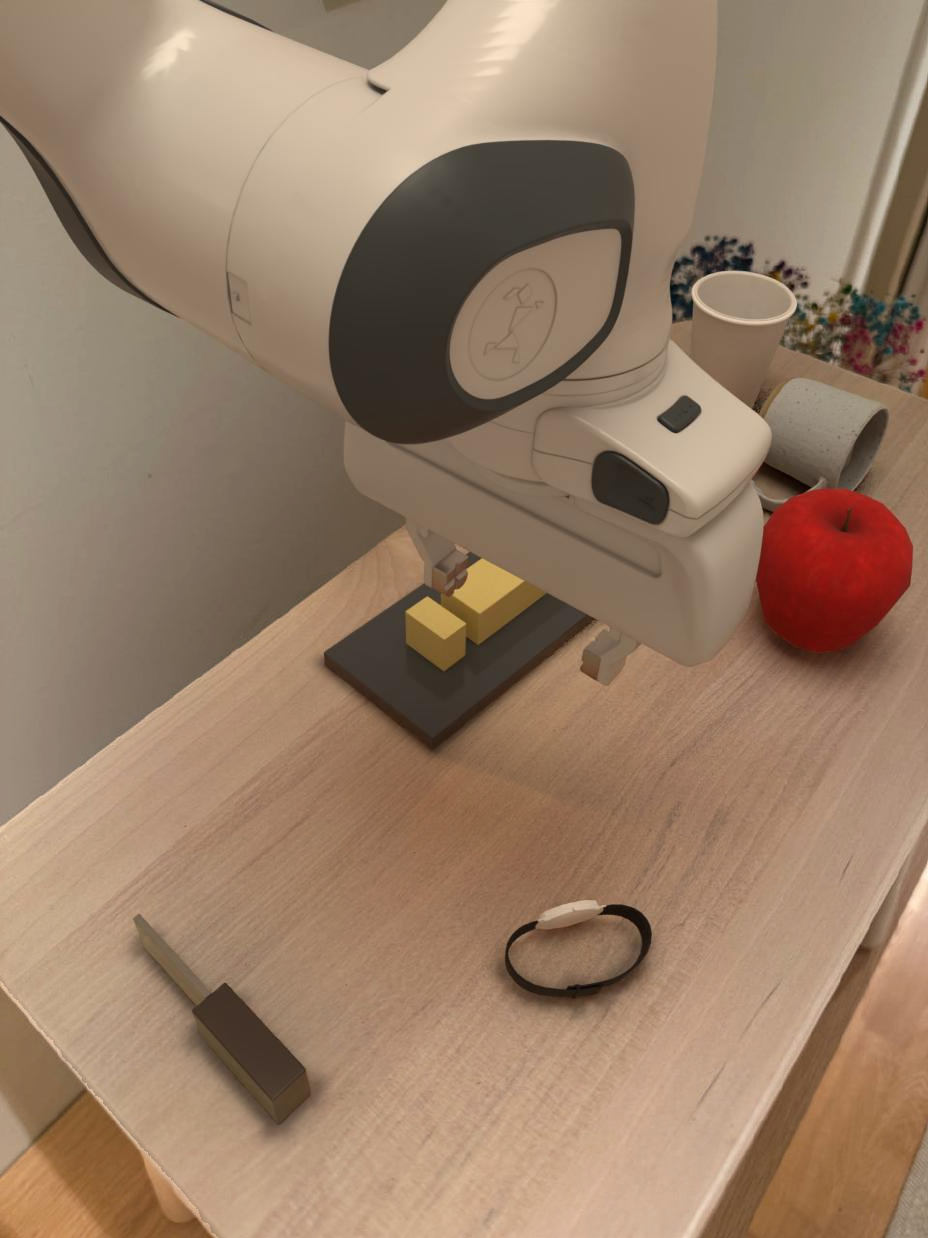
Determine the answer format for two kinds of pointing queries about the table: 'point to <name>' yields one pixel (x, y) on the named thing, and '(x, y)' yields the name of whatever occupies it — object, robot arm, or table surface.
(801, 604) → the apple
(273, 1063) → the dark brown boxy part
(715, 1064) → the table surface
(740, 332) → the dixie cup
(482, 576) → the butter block
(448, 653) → the butter pat
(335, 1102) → the table surface
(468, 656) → the butter dish
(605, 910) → the watch
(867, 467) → the ceramic mug
